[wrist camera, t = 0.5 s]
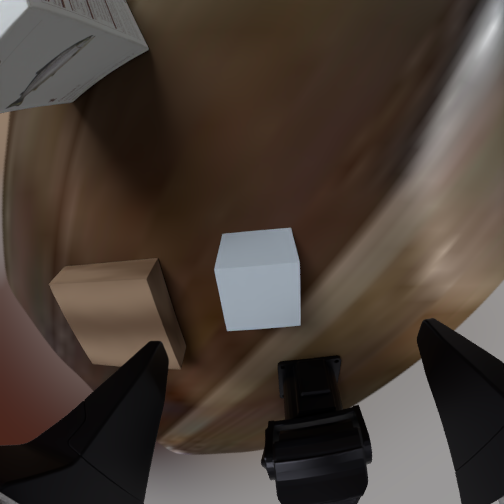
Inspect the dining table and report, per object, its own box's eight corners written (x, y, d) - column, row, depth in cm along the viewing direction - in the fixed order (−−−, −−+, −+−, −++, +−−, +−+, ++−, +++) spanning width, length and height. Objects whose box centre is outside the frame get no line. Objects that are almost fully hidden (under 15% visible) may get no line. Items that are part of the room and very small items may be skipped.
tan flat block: (186, 346, 27) (180, 369, 25) (102, 344, 28) (92, 363, 25) (157, 258, 23) (146, 279, 20) (64, 266, 23) (48, 284, 20)
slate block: (293, 283, 24) (300, 325, 19) (231, 288, 24) (227, 331, 20) (290, 227, 21) (299, 262, 17) (222, 233, 22) (214, 269, 17)
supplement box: (72, 105, 16) (-65, 138, 5) (46, 36, 13) (-76, 33, 2) (153, 51, 15) (28, 8, 4) (121, -19, 12) (15, -81, 1)
